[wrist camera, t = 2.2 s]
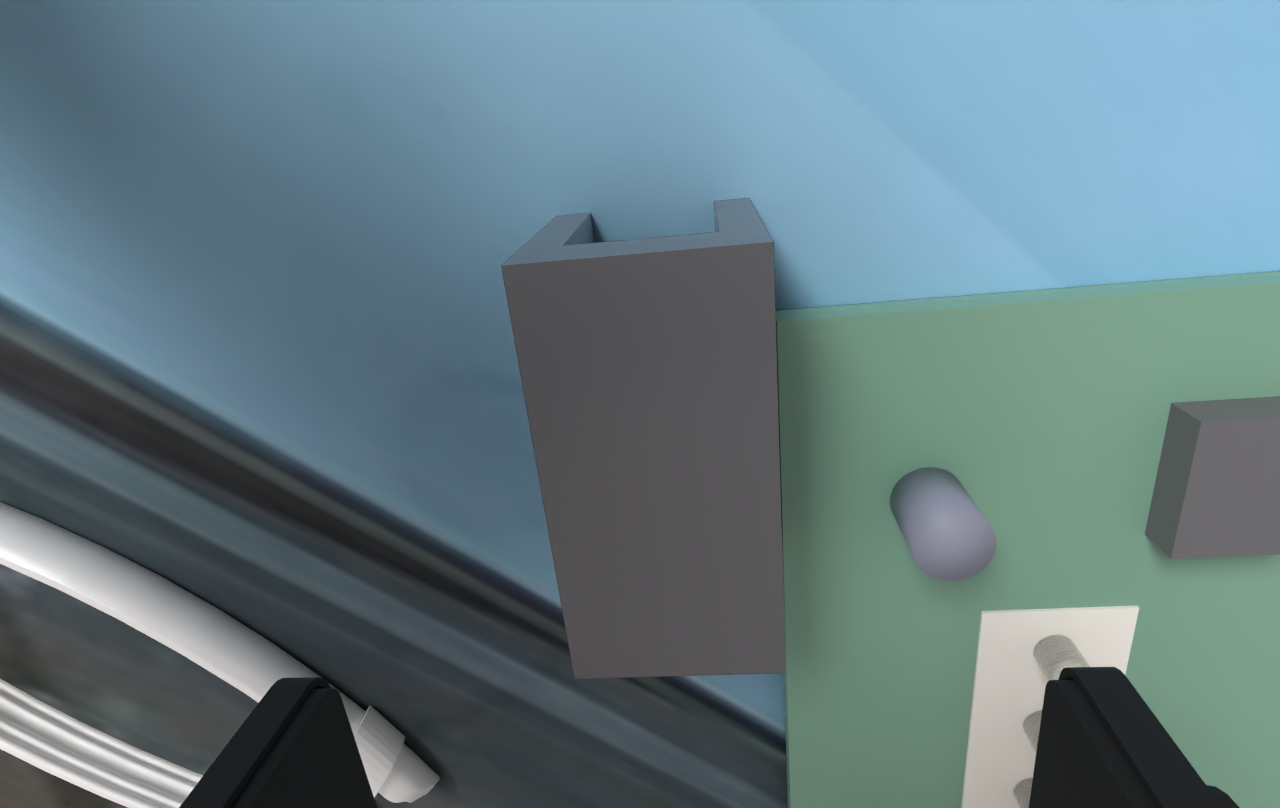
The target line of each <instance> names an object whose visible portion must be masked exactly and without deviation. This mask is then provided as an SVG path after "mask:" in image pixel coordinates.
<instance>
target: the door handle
mask: <svg viewBox="0 0 1280 808" xmlns="http://www.w3.org/2000/svg"><path fill="white" fill-rule="evenodd" d="M0 564H2V565H4V566H7V567H9V568H11V569H13V570H16V571H18V572H20V573H22V574H25V575H27V576H29V577H31V578H34V579H36V580H38V581H40V582H43V583H45V584H47V585H49V586H52V587H54V588H56V589H58V590H60V591H62V592H64V593H66V594H68V595H70V596H72V597H74V598H76V599H78V600H81V601H83V602H85V603H87V604H89V605H91V606H93V607H95V608H97V609H99V610H101V611H103V612H105V613H107V614H109V615H111V616H113V617H115V618H117V619H119V620H120V621H122V622H124V623H126V624H128V625H129V626H131V627H133V628H135V629H137V630H138V631H140V632H142V633H144V634H146V635H148V636H149V637H151V638H153V639H155V640H157V641H158V642H160V643H162V644H164V645H166V646H167V647H169V648H171V649H173V650H175V651H176V652H178V653H180V654H182V655H183V656H185V657H187V658H188V659H190V660H192V661H193V662H195V663H196V664H198V665H200V666H201V667H203V668H205V669H206V670H208V671H210V672H211V673H213V674H214V675H216V676H218V677H219V678H221V679H223V680H224V681H226V682H227V683H229V684H231V685H232V686H234V687H236V688H237V689H239V690H240V691H242V692H243V693H245V694H246V695H248V696H249V697H251V698H252V699H254V700H255V701H257V702H258V703H259V702H260V701H261V699H262V698H263V697H264V695H265V694H266V693H267V691H268V690H269V689H270V688H271V686H272V685H273V684H274V683H275V682H276V681H277V680H280V679H282V678H310V677H320V676H319V675H318V674H316V673H315V672H313V671H312V670H310V669H309V668H308V667H306V666H305V665H303V664H302V663H301V662H299V661H298V660H296V659H295V658H293V657H292V656H291V655H289V654H288V653H286V652H285V651H283V650H282V649H281V648H279V647H278V646H276V645H275V644H273V643H272V642H270V641H269V640H267V639H265V638H264V637H262V636H261V635H259V634H257V633H256V632H254V631H253V630H251V629H250V628H248V627H246V626H245V625H243V624H242V623H240V622H239V621H237V620H235V619H234V618H232V617H231V616H229V615H227V614H226V613H224V612H223V611H221V610H220V609H218V608H216V607H214V606H213V605H211V604H209V603H207V602H206V601H204V600H202V599H200V598H199V597H197V596H195V595H193V594H192V593H190V592H188V591H186V590H185V589H183V588H181V587H179V586H177V585H176V584H174V583H172V582H170V581H169V580H167V579H165V578H163V577H162V576H160V575H158V574H156V573H154V572H152V571H150V570H148V569H146V568H144V567H142V566H140V565H138V564H136V563H134V562H133V561H131V560H129V559H127V558H125V557H123V556H121V555H119V554H117V553H115V552H113V551H111V550H109V549H107V548H105V547H103V546H101V545H99V544H96V543H94V542H92V541H90V540H88V539H85V538H83V537H81V536H79V535H77V534H74V533H72V532H70V531H68V530H66V529H64V528H61V527H59V526H57V525H55V524H53V523H50V522H48V521H46V520H44V519H42V518H39V517H37V516H34V515H32V514H29V513H27V512H24V511H22V510H19V509H17V508H14V507H12V506H9V505H7V504H5V503H2V502H0ZM320 678H322V677H320ZM328 683H329V682H328ZM329 685H330V687H331V688H335V687H334V686H333V685H331V684H330V683H329ZM335 689H336V688H335ZM337 690H338V689H337ZM338 691H339V690H338ZM339 693H340V695H341V698H342V701H343V704H344V707H345V710H346V713H347V716H348V719H349V722H350V726H351V729H352V732H353V735H354V738H355V741H356V744H357V747H358V750H359V753H360V756H361V759H362V762H363V766H364V769H365V772H366V775H367V778H368V781H369V784H370V787H371V790H372V793H373V796H374V797H375V796H376V795H377V793H379V794H381V795H382V796H383V797H384V798H386V799H387V800H389V801H391V802H394V803H400V802H408V803H411V802H413V801H415V800H417V799H418V798H420V797H422V796H424V795H426V794H427V793H428V792H429V791H430V790H431V789H432V788H433V787H434V786H435V784H436V783H437V782H438V781H439V780H440V777H439V776H438V775H437V774H436V773H435V772H434V771H433V770H432V769H431V768H430V767H429V766H428V765H427V764H426V763H425V762H424V761H423V760H421V759H420V758H419V757H418V756H417V755H416V754H415V753H414V752H413V751H412V750H411V749H409V748H408V747H407V746H406V745H405V744H404V740H405V736H404V735H403V734H402V733H401V732H400V731H398V730H397V729H396V728H395V727H394V726H393V725H392V724H391V723H390V722H388V721H387V720H386V719H385V718H384V717H383V716H382V715H381V714H380V713H378V712H377V711H376V710H375V709H374V708H373V707H372V706H371V705H370V706H369V707H368V709H367V710H366V711H365V710H363V709H362V708H361V707H360V706H358V705H357V704H356V703H354V702H353V701H352V700H351V699H349V698H348V697H347V696H345V695H344V694H343V693H342V692H340V691H339ZM0 749H2V750H4V751H6V752H8V753H10V754H12V755H14V756H16V757H18V758H20V759H22V760H24V761H26V762H28V763H30V764H32V765H34V766H36V767H38V768H40V769H42V770H44V771H46V772H48V773H50V774H53V775H55V776H57V777H59V778H61V779H64V780H66V781H68V782H70V783H72V784H75V785H77V786H79V787H81V788H84V789H86V790H88V791H90V792H92V793H95V794H97V795H99V796H101V797H104V798H106V799H108V800H111V801H113V802H116V803H118V804H121V805H123V806H126V807H128V808H179V807H180V806H181V804H182V803H183V802H184V800H185V799H186V798H187V796H188V795H189V794H190V792H191V791H192V790H193V789H194V787H195V786H196V785H197V783H198V782H199V781H200V779H201V778H202V777H203V775H201V774H198V773H196V772H193V771H191V770H188V769H186V768H184V767H181V766H179V765H176V764H174V763H171V762H169V761H167V760H164V759H162V758H159V757H157V756H155V755H152V754H150V753H147V752H145V751H142V750H140V749H138V748H136V747H134V746H131V745H129V744H127V743H125V742H123V741H121V740H118V739H116V738H114V737H112V736H110V735H108V734H106V733H103V732H101V731H99V730H97V729H95V728H93V727H90V726H88V725H86V724H84V723H82V722H80V721H78V720H76V719H74V718H72V717H70V716H69V715H67V714H65V713H63V712H61V711H59V710H57V709H55V708H53V707H51V706H49V705H47V704H45V703H43V702H41V701H39V700H37V699H36V698H34V697H32V696H30V695H29V694H27V693H25V692H23V691H21V690H20V689H18V688H16V687H14V686H13V685H11V684H9V683H7V682H5V681H4V680H2V679H0Z"/></svg>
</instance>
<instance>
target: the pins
mask: <svg viewBox="0 0 1280 808" xmlns="http://www.w3.org/2000/svg"><path fill="white" fill-rule="evenodd" d="M1033 656H1034V658H1035V660H1036V661H1037V663H1038V665H1039V666H1040V668H1041V670H1042V671H1043V673H1044V675H1045V676H1046V678H1047V680H1048V681H1049V680H1059V676H1060V672H1061V671H1062V670H1063V668H1068V667H1090V665H1089V664H1088V663H1087V661H1086V660H1085V658H1084V657H1083V655H1082V654H1081V652H1080V651H1079V650H1078V648H1077V647H1076V645H1075V644H1074V642H1073V641H1072V640H1071V639H1070V638H1068V637H1067V636H1064V635H1050V636H1047V637H1045V638H1043V639H1041V640H1040V641H1039V642H1038V643H1037V644H1036V645H1035V647H1034V649H1033ZM1041 715H1042V710H1039V711H1036V712H1033V713H1031V714H1030V715H1028V716H1027V717H1026V718H1025V720H1024V722H1023V730H1024V732H1025V734H1026V735H1027V737H1028V739H1029V741H1030V743H1031V745H1032V747H1033V749H1034V751H1035V753H1036V751H1037V744H1038V737H1039V730H1040V723H1041ZM1032 780H1033V778H1028V779H1024V780H1022V781H1020V782H1019V783H1018V784H1017V785H1016V786H1015V787H1014V790H1013V794H1014V796H1015V799H1016V801H1017V803H1018V805H1019V807H1020V808H1029V802H1030V795H1031V787H1032Z"/></svg>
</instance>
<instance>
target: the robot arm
mask: <svg viewBox="0 0 1280 808" xmlns="http://www.w3.org/2000/svg"><path fill="white" fill-rule="evenodd" d="M179 808H377V806H376V802H375V799H374V796H373V793H372V790H371V787H370V784H369V781H368V778H367V775H366V772H365V769H364V766H363V762H362V759H361V756H360V753H359V750H358V747H357V744H356V741H355V738H354V735H353V732H352V729H351V726H350V722H349V719H348V716H347V713H346V710H345V707H344V704H343V701H342V698H341V695H340V693H339V691H338V690H337V689H335V688H331V687H330V685H329V683H328V681H327V680H326V679H324V678H320V677H310V678H282V679H280V680H277V681H276V682H275V683H274V684H273V685H272V686H271V688H270V689H269V690H268V691H267V693H266V694H265V695H264V697H263V698H262V699H261V701H260V702H259V703H258V705H257V706H256V707H255V709H254V710H253V711H252V712H251V714H250V715H249V716H248V718H247V719H246V720H245V722H244V723H243V724H242V726H241V727H240V728H239V730H238V731H237V732H236V733H235V735H234V736H233V737H232V739H231V740H230V741H229V743H228V744H227V745H226V747H225V748H224V749H223V751H222V752H221V753H220V754H219V756H218V757H217V758H216V760H215V761H214V762H213V764H212V765H211V766H210V768H209V769H208V770H207V772H206V773H205V774H204V775H203V777H202V778H201V779H200V781H199V782H198V783H197V785H196V786H195V787H194V789H193V790H192V791H191V792H190V794H189V795H188V796H187V798H186V799H185V800H184V802H183V803H182V804H181V806H180V807H179ZM1029 808H1240V807H1239V806H1238V805H1237V804H1236V803H1235V802H1234V801H1233V800H1232V798H1231V797H1230V796H1229V795H1228V794H1226V793H1225V792H1223V791H1222V790H1220V789H1219V788H1217V787H1216V786H1210V785H1206V784H1205V783H1204V781H1203V780H1202V779H1201V777H1200V776H1199V775H1198V773H1197V772H1196V771H1195V769H1194V768H1193V766H1192V765H1191V764H1190V762H1189V761H1188V760H1187V758H1186V757H1185V756H1184V754H1183V753H1182V752H1181V750H1180V749H1179V747H1178V746H1177V745H1176V743H1175V742H1174V741H1173V739H1172V738H1171V737H1170V735H1169V734H1168V732H1167V731H1166V730H1165V728H1164V727H1163V726H1162V724H1161V723H1160V722H1159V720H1158V719H1157V718H1156V716H1155V715H1154V713H1153V712H1152V711H1151V709H1150V708H1149V707H1148V705H1147V704H1146V703H1145V701H1144V700H1143V699H1142V697H1141V696H1140V694H1139V693H1138V692H1137V690H1136V689H1135V688H1134V686H1133V685H1132V684H1131V682H1130V681H1129V680H1128V678H1127V677H1126V676H1125V675H1124V673H1123V672H1122V671H1121V670H1119V669H1118V668H1116V667H1068V668H1063V670H1062V671H1061V672H1060V676H1059V680H1049V681H1048V682H1047V684H1046V688H1045V694H1044V701H1043V708H1042V715H1041V723H1040V730H1039V737H1038V744H1037V751H1036V759H1035V766H1034V773H1033V780H1032V787H1031V795H1030V802H1029Z"/></svg>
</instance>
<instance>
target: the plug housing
mask: <svg viewBox="0 0 1280 808" xmlns="http://www.w3.org/2000/svg"><path fill="white" fill-rule="evenodd" d="M714 210H715V227H716V232H710V233H699V234H688V235H677V236H666V237H654V238H643V239H632V240H621V241H610V242H599V243H594V236H593V227H592V219H591V213H583V214H573V215H562V216H556V217H555V218H554V219H553V220H552V221H551V222H549V223H548V224H547V225H546V226H545V227H544V228H543V229H542V230H541V231H539V232H538V233H537V234H536V235H535V236H534V237H533V238H532V239H531V240H529V241H528V242H527V243H526V244H525V245H524V246H523V247H522V248H520V249H519V250H518V251H517V252H516V253H515V254H514V255H513V256H512V257H510V258H509V259H508V260H507V261H506V262H505V263H504V264H503V265H501V267H502V273H503V278H504V284H505V290H506V295H507V301H508V307H509V312H510V318H511V324H512V329H513V335H514V341H515V346H516V352H517V357H518V363H519V369H520V374H521V380H522V386H523V391H524V397H525V403H526V408H527V414H528V420H529V425H530V431H531V436H532V442H533V448H534V453H535V459H536V465H537V470H538V476H539V482H540V487H541V493H542V498H543V504H544V510H545V515H546V521H547V527H548V532H549V538H550V544H551V549H552V555H553V561H554V566H555V572H556V577H557V583H558V589H559V594H560V600H561V606H562V611H563V617H564V623H565V628H566V634H567V640H568V645H569V651H570V656H571V662H572V668H573V673H574V679H589V678H625V677H661V676H697V675H733V674H769V673H786V665H785V630H784V595H783V560H782V525H781V490H780V455H779V420H778V385H777V350H776V315H775V280H774V245H773V240H772V238H771V236H770V235H769V233H768V231H767V229H766V227H765V225H764V224H763V222H762V220H761V218H760V216H759V214H758V213H757V211H756V209H755V207H754V205H753V203H752V202H751V200H750V198H742V199H731V200H721V201H714Z"/></svg>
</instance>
